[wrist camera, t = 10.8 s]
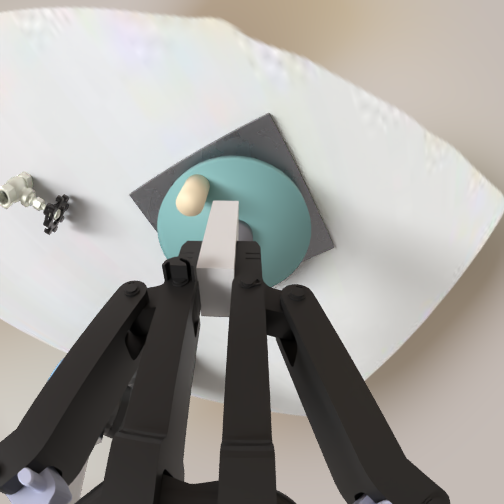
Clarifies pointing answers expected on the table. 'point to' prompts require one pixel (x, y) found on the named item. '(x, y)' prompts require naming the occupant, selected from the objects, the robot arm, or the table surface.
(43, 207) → the valve
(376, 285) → the table surface
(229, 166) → the handwheel
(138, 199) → the wheel stand
